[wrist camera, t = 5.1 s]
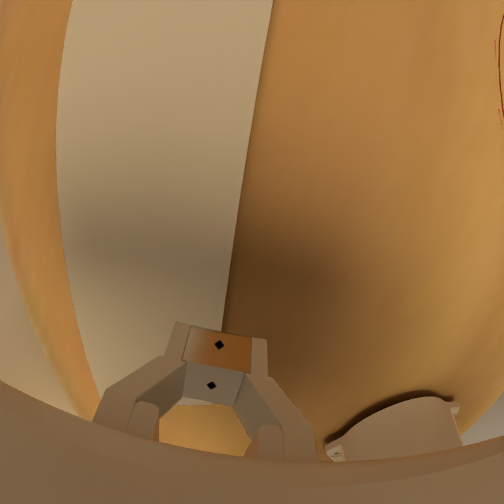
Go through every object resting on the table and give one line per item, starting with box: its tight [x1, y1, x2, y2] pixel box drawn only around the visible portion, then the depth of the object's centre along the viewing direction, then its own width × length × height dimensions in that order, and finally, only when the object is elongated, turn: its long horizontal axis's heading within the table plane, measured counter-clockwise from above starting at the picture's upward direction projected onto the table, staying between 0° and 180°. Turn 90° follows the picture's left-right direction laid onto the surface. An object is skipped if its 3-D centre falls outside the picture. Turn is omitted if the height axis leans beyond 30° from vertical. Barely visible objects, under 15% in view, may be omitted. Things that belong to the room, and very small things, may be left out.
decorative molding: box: [56, 0, 273, 406], centre depth 18 cm, size 34×5×10 cm
